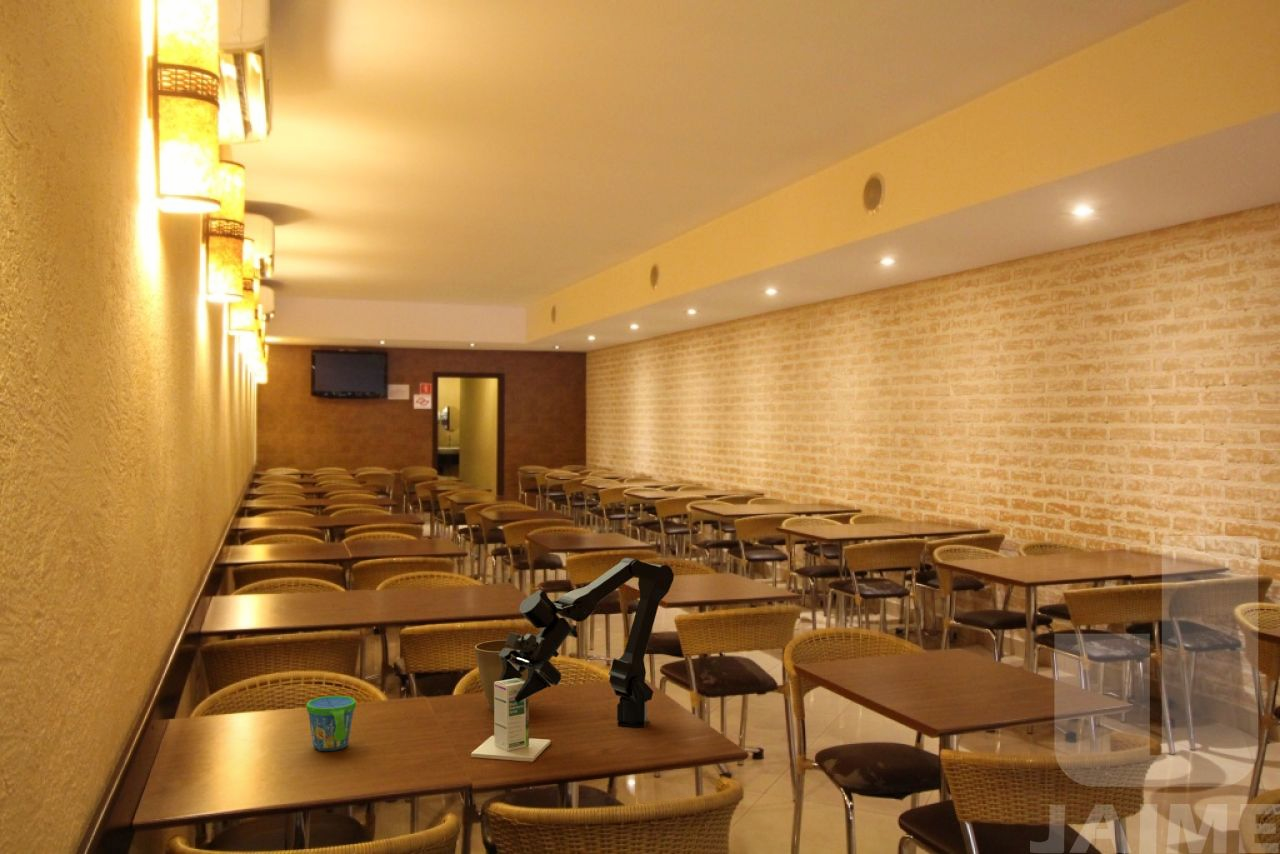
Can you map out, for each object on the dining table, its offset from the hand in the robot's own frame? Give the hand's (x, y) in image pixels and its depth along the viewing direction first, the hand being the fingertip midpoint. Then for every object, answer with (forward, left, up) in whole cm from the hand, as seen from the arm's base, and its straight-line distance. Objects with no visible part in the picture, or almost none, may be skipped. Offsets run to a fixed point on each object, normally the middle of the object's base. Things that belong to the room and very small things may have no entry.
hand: (506, 696), depth 228 cm
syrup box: (-1, -1, -11) cm, 12 cm away
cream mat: (-1, -1, -12) cm, 12 cm away
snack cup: (+39, +6, -12) cm, 41 cm away
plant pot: (+12, -33, -12) cm, 37 cm away
